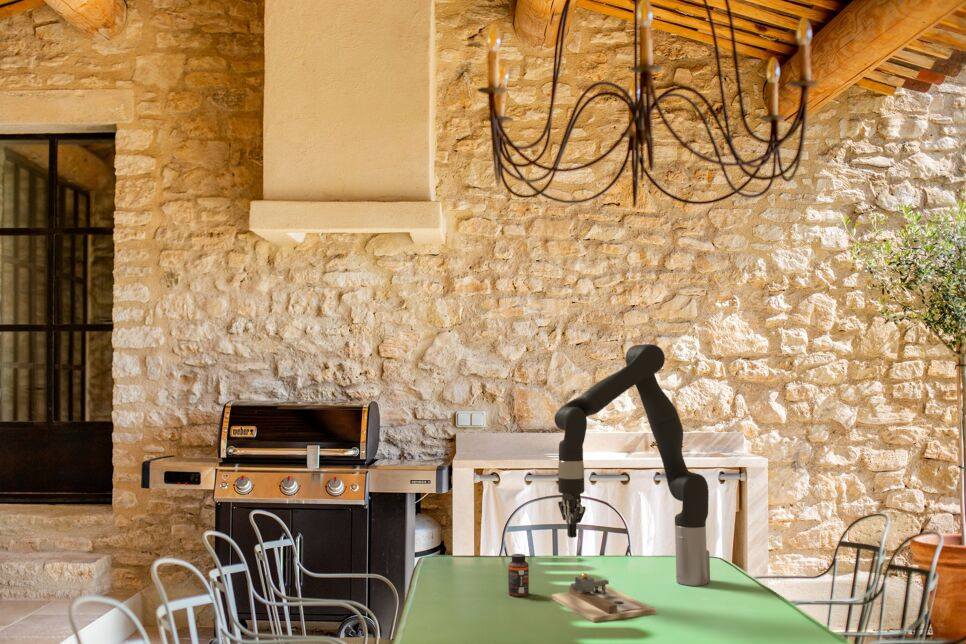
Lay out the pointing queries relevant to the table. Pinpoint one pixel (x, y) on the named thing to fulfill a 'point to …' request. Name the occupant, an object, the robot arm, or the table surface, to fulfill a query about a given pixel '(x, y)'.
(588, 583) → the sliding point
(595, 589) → the bar
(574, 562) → the table surface
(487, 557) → the table surface
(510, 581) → the supplement bottle
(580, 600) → the wooden slider puzzle board
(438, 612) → the table surface
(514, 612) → the table surface
